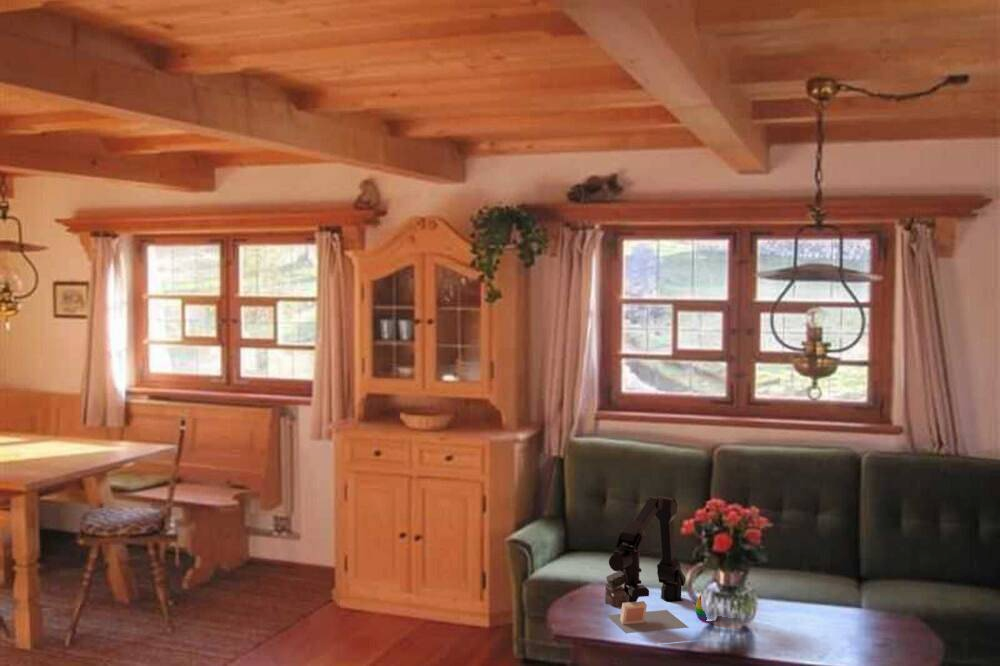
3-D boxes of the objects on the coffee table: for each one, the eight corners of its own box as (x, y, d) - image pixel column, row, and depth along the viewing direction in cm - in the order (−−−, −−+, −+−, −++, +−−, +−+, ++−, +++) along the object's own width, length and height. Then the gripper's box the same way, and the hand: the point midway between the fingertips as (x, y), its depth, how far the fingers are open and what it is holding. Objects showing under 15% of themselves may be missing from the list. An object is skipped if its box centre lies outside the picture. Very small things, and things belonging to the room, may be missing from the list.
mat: (666, 610, 346) (666, 609, 346) (688, 628, 329) (688, 627, 329) (606, 616, 341) (606, 615, 341) (625, 634, 323) (625, 633, 323)
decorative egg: (697, 614, 342) (697, 587, 342) (720, 617, 340) (721, 589, 339) (694, 622, 335) (694, 594, 334) (717, 625, 332) (718, 596, 331)
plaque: (641, 618, 336) (644, 601, 333) (644, 622, 333) (646, 605, 331) (619, 620, 334) (622, 602, 331) (622, 624, 331) (625, 607, 329)
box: (604, 603, 355) (605, 583, 354) (618, 601, 357) (619, 581, 357) (613, 608, 349) (613, 588, 349) (627, 606, 352) (628, 586, 351)
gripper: (599, 558, 341) (599, 602, 341) (619, 574, 322) (618, 620, 323) (629, 556, 343) (628, 600, 344) (650, 571, 325) (649, 617, 326)
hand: (630, 609), depth 334 cm, fingers closed
